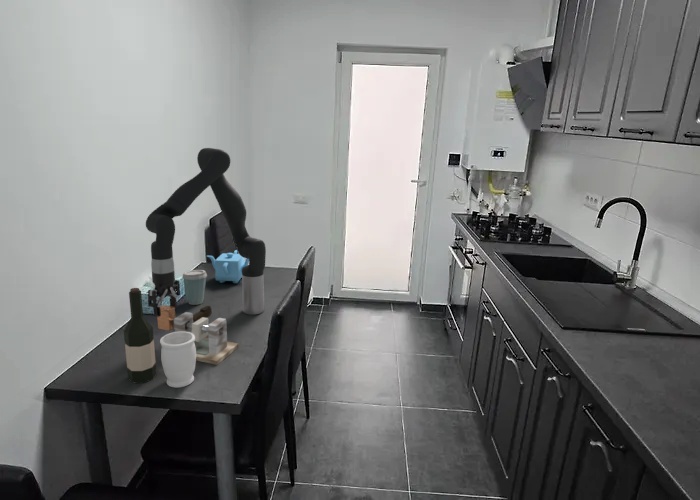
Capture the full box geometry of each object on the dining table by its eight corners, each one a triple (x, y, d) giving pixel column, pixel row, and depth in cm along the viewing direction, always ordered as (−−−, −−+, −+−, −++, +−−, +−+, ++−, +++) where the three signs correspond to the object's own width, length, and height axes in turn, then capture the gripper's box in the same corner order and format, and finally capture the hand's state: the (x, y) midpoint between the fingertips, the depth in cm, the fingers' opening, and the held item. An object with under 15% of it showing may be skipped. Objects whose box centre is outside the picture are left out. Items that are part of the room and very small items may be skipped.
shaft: (164, 324, 172) (163, 304, 170) (220, 335, 165) (219, 314, 163) (158, 328, 169) (156, 308, 166) (215, 339, 162) (214, 318, 160)
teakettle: (224, 288, 231) (223, 260, 228) (206, 278, 244) (204, 252, 240) (256, 280, 244) (255, 254, 241) (237, 272, 257) (236, 246, 253)
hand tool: (184, 331, 182) (184, 321, 181) (177, 329, 184) (176, 319, 182) (216, 315, 199) (216, 305, 198) (209, 313, 200) (208, 303, 199)
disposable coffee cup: (178, 304, 209) (176, 272, 205) (194, 296, 218) (193, 266, 214) (197, 308, 205) (195, 276, 201) (213, 300, 214) (211, 269, 211)
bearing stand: (187, 337, 177) (186, 307, 173) (238, 347, 170) (237, 316, 167) (163, 353, 164) (161, 321, 160) (217, 364, 157) (215, 331, 154)
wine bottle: (162, 372, 151) (155, 286, 143) (143, 385, 144) (135, 295, 136) (141, 367, 154) (134, 283, 146) (122, 380, 146) (113, 291, 138)
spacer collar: (203, 333, 169) (202, 317, 167) (209, 334, 168) (208, 318, 167) (192, 340, 163) (191, 323, 161) (198, 341, 162) (197, 324, 161)
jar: (168, 372, 152) (165, 330, 148) (200, 372, 152) (198, 330, 149) (158, 390, 141) (155, 346, 137) (193, 389, 142) (190, 345, 138)
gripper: (158, 276, 156) (161, 320, 160) (184, 265, 169) (186, 306, 173) (139, 273, 158) (143, 317, 162) (167, 263, 171) (169, 304, 175)
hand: (165, 312), depth 168 cm, fingers open, 8 cm apart
